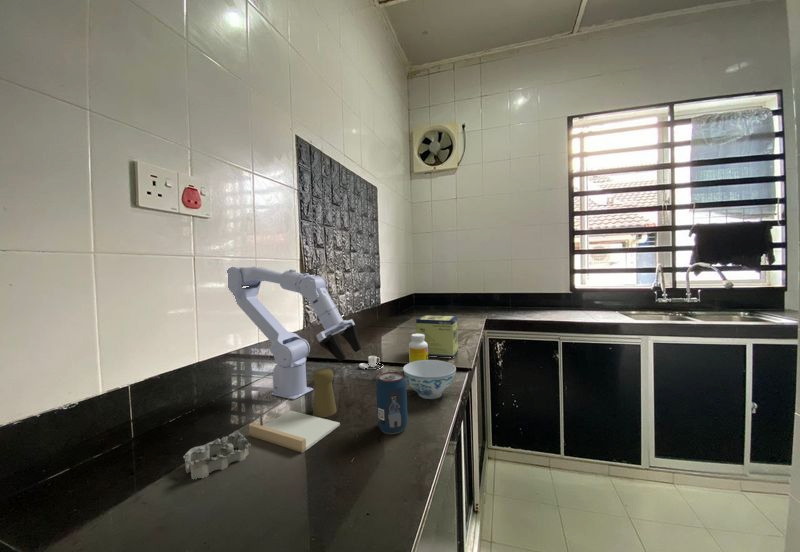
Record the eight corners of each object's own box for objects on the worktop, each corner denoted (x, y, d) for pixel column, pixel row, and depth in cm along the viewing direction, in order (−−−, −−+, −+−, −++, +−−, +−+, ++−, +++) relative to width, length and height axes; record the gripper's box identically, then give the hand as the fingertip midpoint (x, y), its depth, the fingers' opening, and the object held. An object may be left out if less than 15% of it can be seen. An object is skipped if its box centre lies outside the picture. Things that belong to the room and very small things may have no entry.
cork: (330, 418, 77) (329, 374, 77) (308, 416, 78) (306, 373, 78) (340, 407, 83) (338, 366, 83) (319, 406, 84) (317, 365, 84)
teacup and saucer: (357, 370, 113) (356, 359, 113) (363, 364, 121) (363, 353, 121) (380, 371, 112) (380, 360, 112) (385, 364, 120) (385, 354, 120)
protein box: (454, 359, 122) (453, 320, 122) (416, 356, 128) (415, 319, 127) (458, 352, 132) (457, 315, 132) (423, 350, 137) (422, 315, 137)
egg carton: (191, 486, 54) (190, 463, 54) (182, 468, 60) (181, 447, 59) (253, 458, 62) (252, 438, 62) (240, 444, 67) (239, 426, 67)
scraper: (249, 435, 70) (248, 425, 70) (290, 412, 81) (290, 403, 81) (302, 452, 63) (302, 441, 63) (339, 425, 73) (339, 415, 73)
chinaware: (431, 411, 79) (430, 381, 79) (393, 394, 90) (392, 368, 90) (467, 394, 89) (466, 367, 89) (429, 380, 100) (428, 357, 100)
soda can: (393, 417, 76) (391, 369, 76) (413, 427, 71) (412, 375, 71) (371, 428, 71) (369, 376, 71) (391, 439, 67) (390, 384, 66)
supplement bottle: (429, 374, 106) (428, 336, 106) (409, 374, 107) (408, 337, 106) (427, 367, 113) (426, 332, 113) (409, 368, 113) (408, 333, 113)
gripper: (319, 312, 81) (345, 358, 79) (351, 301, 94) (374, 341, 92) (303, 324, 84) (327, 369, 82) (336, 312, 97) (357, 351, 95)
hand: (350, 355), depth 87 cm, fingers open, 7 cm apart
